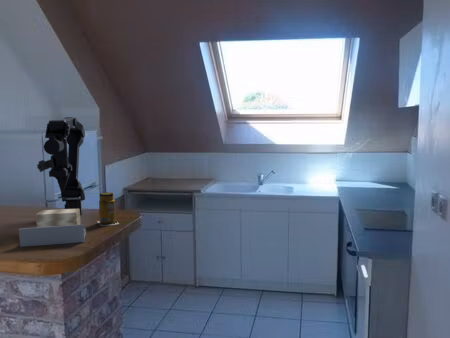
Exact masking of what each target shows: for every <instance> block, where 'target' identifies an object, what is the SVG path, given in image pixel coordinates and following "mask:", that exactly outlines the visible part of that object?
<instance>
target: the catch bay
mask: <svg viewBox="0 0 450 338" xmlns="http://www.w3.org/2000/svg"><path fill="white" fill-rule="evenodd" d="M84 227H85V225H84V223H83V224H82V223H81V225H66V226H51V227H37V226H36V227H24V228H23V227H21V228H19V229H18V235H19V238H18V239H19V246H20V248H22V247H35V246H37V247H38V246H49V245H59V244H60V245H61V244H76V243H85V238H86V236H87V235H86V234H87V229H86V228H84Z"/></svg>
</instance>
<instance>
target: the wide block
mask: <svg viewBox="0 0 450 338" xmlns="http://www.w3.org/2000/svg"><path fill="white" fill-rule="evenodd" d="M35 221H36V227H51V226H66V225H81V224H82V223H81V215H80V209H65V208H61V209H41V210H39V211H38V212H37V213H36V214H35Z"/></svg>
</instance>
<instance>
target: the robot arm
mask: <svg viewBox="0 0 450 338" xmlns="http://www.w3.org/2000/svg"><path fill="white" fill-rule="evenodd" d="M85 137H86V131H85V128H84V125H83V123H80V122H79V121H78V119H77V117H74V116H66V117H63V119H57V120H56V119H51V120H49V121H48V123H47V124H46V129H45V136H44V138H45V139H47V140H46V141H44V145H43V150H44V152H45V153H47V154H48V155H50V158H49V159H47V160H44V159H43V160H39V161H38V163H37V164H36V168H37V169H38V171H39V172H40V173H41V172H44V171H46V170H48V169H50V170H49V171H48V177H50V178H51V177H53V178H54V179H56V181H57V184H58V187H59V191H60V196H61V201H62V202H65V204H64V209H80V216H82V214H83V203H82V202H83V201H85V200H86V195H85V192H84V188H83V186H82V183H81V181H80V179H79V164H80V147H81V146H82V145H83V144H84V140H85Z"/></svg>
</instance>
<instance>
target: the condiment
mask: <svg viewBox="0 0 450 338" xmlns="http://www.w3.org/2000/svg"><path fill="white" fill-rule="evenodd" d="M98 209H99V210H98V211H99V220H97V221H96V222H97V223H98V225H99V226H100V227H106V226H115V225H120V223H119V222H118V221H117V220H116V201H115V199H114V193H113V192H111V191H110V192H109V191H107V192H101V193H99V201H98ZM115 220H116V221H117V223H115ZM113 223H115V224H113Z"/></svg>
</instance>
